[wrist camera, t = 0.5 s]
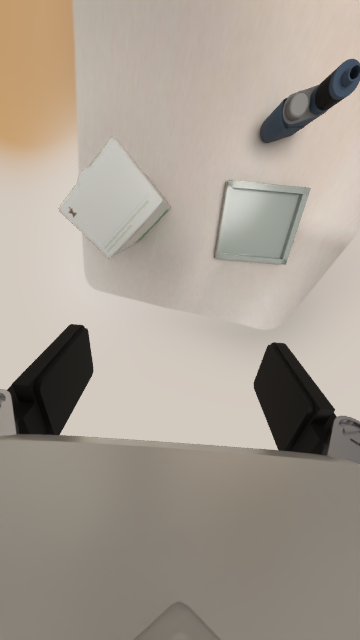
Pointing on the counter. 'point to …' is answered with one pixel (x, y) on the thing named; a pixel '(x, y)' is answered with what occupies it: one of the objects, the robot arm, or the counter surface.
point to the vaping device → (311, 102)
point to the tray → (259, 221)
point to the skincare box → (114, 201)
